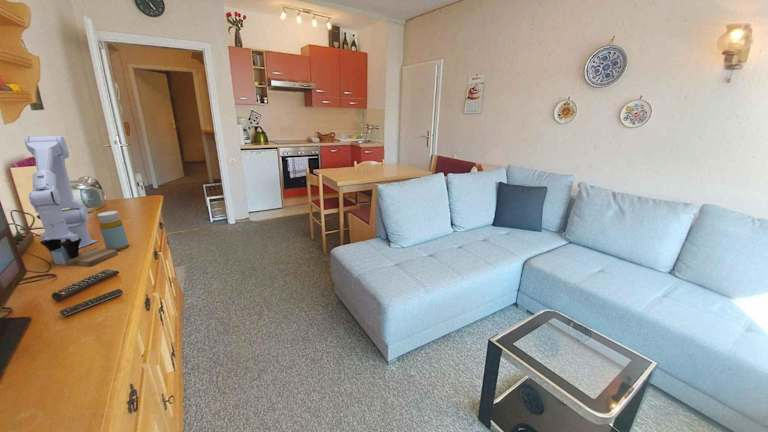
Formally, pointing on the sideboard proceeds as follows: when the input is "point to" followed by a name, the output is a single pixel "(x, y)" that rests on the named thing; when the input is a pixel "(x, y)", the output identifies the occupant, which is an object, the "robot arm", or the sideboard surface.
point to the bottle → (112, 230)
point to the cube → (60, 256)
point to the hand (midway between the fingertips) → (67, 257)
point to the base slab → (92, 257)
